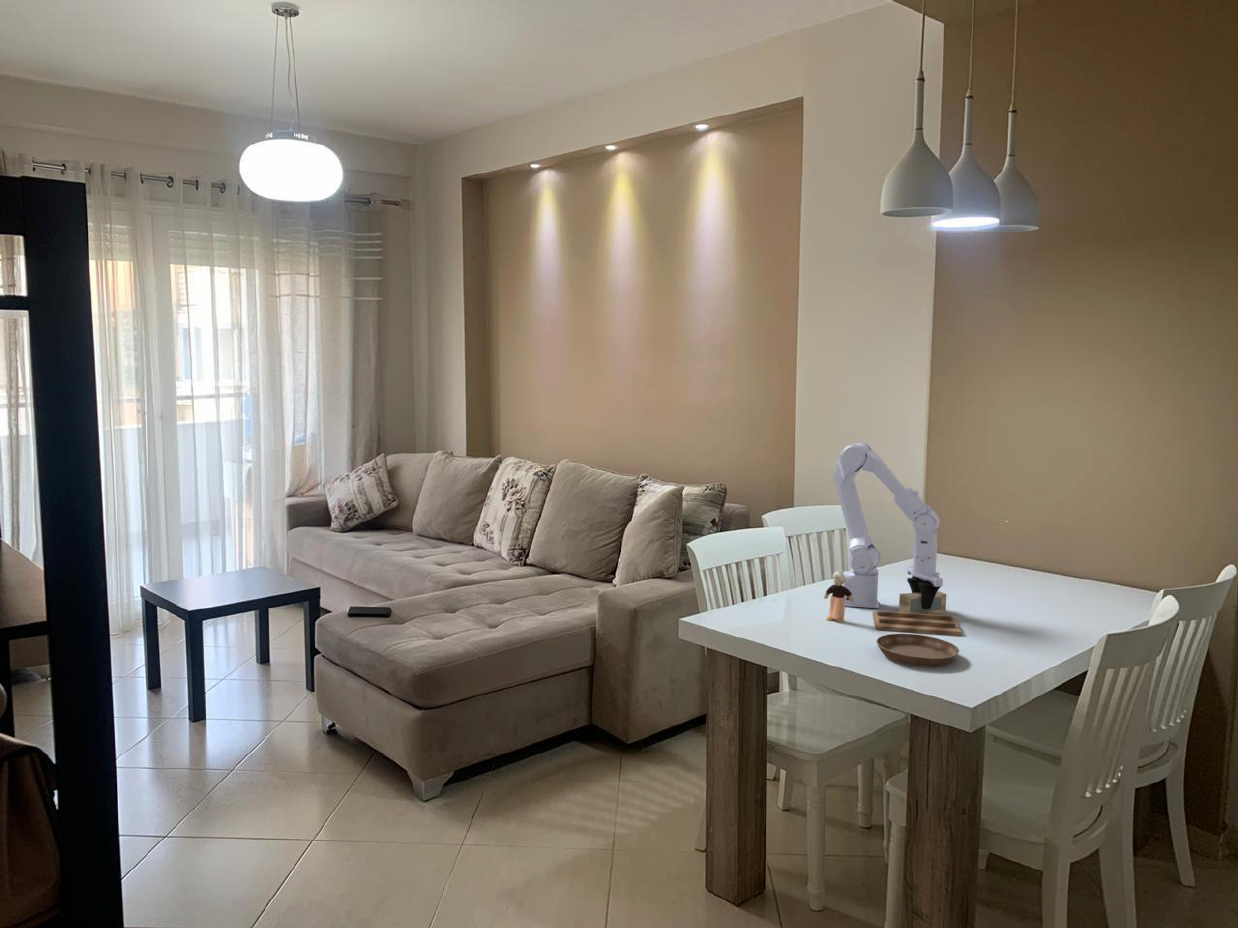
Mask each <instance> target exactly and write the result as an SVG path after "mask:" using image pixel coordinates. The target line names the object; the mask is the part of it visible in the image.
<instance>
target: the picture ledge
mask: <svg viewBox="0 0 1238 928" xmlns="http://www.w3.org/2000/svg"><path fill="white" fill-rule="evenodd" d="M872 618H873V619H872V620H873V624H874V629H875V631H885V632H886V631H888V632H899V633H900V632H901V633H912V634H913V633H914V634H915V633H916V634H918V633H919V634H926V635H927V634H929V635H941V636H942V635H943V636H956V637H957V636H958V637H961V636H962V630H961V628H960V626H959V625H958V623H957V620H956V618H955V616H952V615H947V614H937V613H927V614H921V613H907V612H899V611H891V610H890V611H889V610H872Z"/></svg>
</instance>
